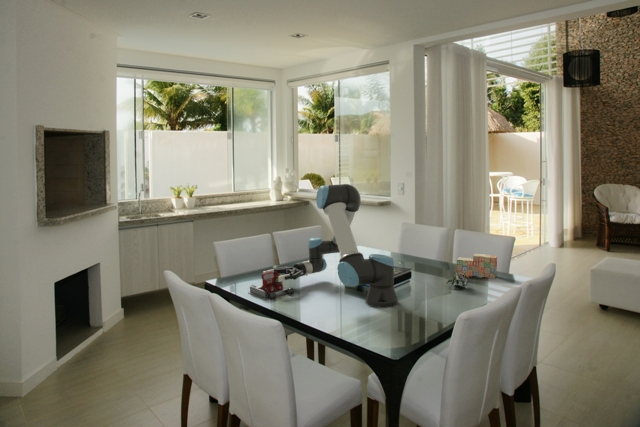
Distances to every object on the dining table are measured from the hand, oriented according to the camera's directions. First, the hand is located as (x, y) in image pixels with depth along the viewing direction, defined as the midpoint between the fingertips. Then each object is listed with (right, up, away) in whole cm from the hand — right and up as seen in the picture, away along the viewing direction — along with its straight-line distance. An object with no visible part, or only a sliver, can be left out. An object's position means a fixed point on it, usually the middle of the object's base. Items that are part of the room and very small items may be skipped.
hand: (271, 276), depth 243 cm
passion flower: (+98, -7, +2) cm, 98 cm away
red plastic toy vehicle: (+1, -8, +2) cm, 8 cm away
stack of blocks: (+115, -3, +25) cm, 118 cm away
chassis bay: (+1, -8, +2) cm, 9 cm away
